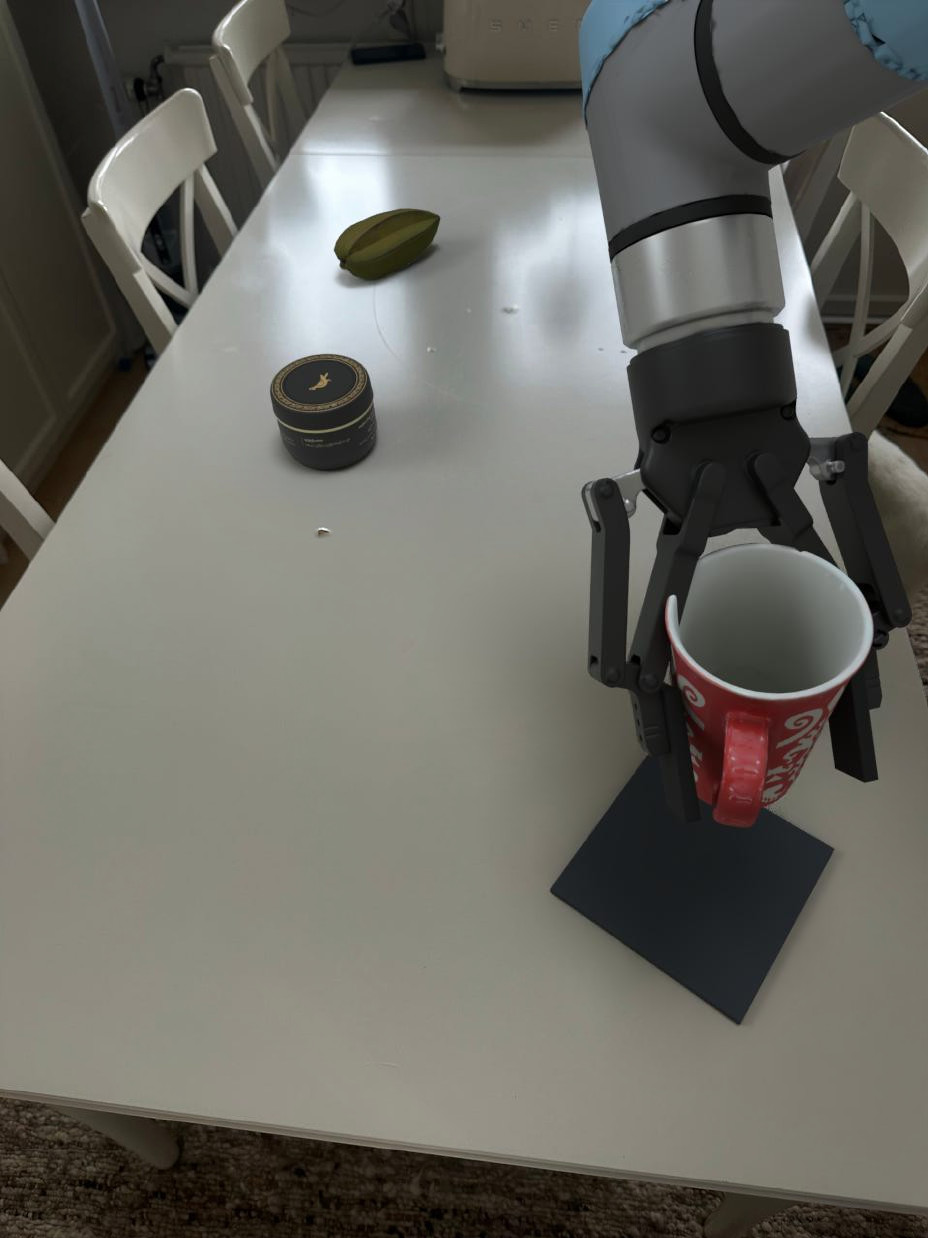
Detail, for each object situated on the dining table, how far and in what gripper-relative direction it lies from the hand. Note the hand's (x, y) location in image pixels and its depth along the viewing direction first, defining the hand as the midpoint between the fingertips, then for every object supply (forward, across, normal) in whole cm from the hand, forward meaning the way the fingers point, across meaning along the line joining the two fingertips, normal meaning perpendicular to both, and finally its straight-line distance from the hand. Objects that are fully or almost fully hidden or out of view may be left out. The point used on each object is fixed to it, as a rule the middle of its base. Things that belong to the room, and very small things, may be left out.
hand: (770, 792), depth 44 cm
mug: (+1, 0, -6) cm, 6 cm away
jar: (-26, +19, -52) cm, 61 cm away
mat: (+10, 0, -15) cm, 18 cm away
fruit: (-50, +7, -75) cm, 90 cm away
